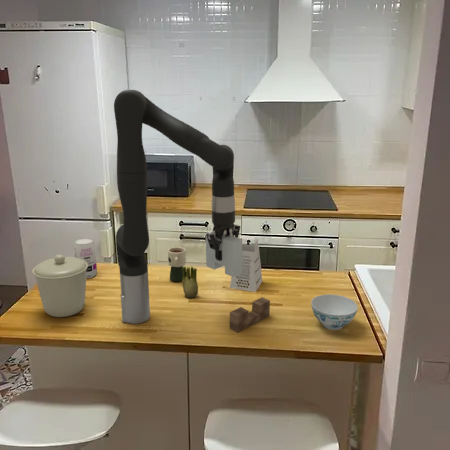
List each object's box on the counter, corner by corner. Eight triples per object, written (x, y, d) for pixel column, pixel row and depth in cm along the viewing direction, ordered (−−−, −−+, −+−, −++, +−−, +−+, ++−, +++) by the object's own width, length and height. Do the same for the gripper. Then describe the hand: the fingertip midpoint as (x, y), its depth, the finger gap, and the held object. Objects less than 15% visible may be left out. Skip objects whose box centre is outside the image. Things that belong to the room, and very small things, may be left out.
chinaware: (354, 317, 162) (356, 296, 160) (356, 339, 148) (358, 317, 146) (311, 312, 165) (312, 292, 163) (308, 333, 151) (310, 312, 149)
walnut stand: (237, 332, 151) (237, 315, 150) (229, 328, 154) (229, 312, 152) (269, 316, 162) (270, 300, 160) (261, 312, 164) (262, 297, 163)
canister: (69, 327, 154) (63, 268, 148) (26, 317, 160) (18, 260, 154) (101, 303, 170) (97, 249, 164) (61, 295, 176) (55, 243, 170)
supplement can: (88, 269, 200) (85, 236, 196) (101, 274, 196) (98, 240, 191) (72, 275, 194) (69, 241, 190) (85, 280, 189) (82, 246, 185)
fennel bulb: (181, 295, 177) (180, 265, 174) (191, 291, 180) (191, 262, 177) (190, 300, 173) (189, 270, 170) (200, 296, 176) (200, 267, 173)
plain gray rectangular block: (233, 277, 150) (233, 242, 147) (206, 266, 159) (205, 233, 155) (242, 273, 153) (242, 239, 149) (214, 263, 162) (214, 230, 158)
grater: (255, 291, 181) (256, 243, 175) (229, 288, 184) (230, 240, 178) (262, 281, 190) (263, 234, 184) (237, 277, 193) (238, 232, 187)
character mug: (169, 274, 196) (168, 245, 192) (186, 274, 197) (185, 245, 193) (167, 285, 186) (166, 254, 182) (185, 285, 186) (185, 254, 182)
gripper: (215, 215, 142) (216, 267, 147) (246, 206, 152) (246, 255, 157) (199, 210, 147) (200, 261, 153) (230, 202, 157) (230, 249, 162)
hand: (224, 258), depth 155 cm, fingers closed on plain gray rectangular block, 4 cm apart
